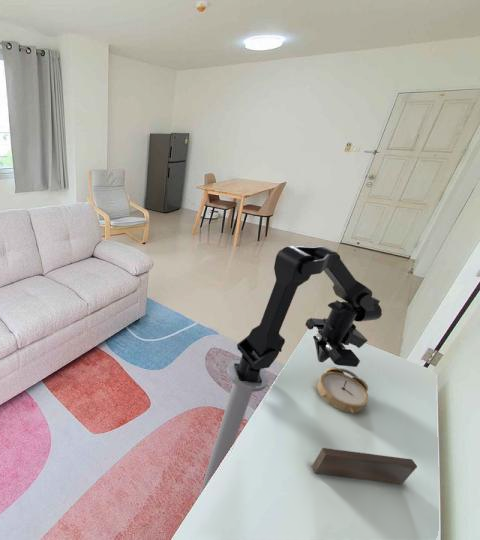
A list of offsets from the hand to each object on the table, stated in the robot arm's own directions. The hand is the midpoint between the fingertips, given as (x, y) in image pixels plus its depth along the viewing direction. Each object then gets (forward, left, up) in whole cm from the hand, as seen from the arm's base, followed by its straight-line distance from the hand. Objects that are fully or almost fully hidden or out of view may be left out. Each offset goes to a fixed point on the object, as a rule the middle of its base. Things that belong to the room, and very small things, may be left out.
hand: (320, 361), depth 92 cm
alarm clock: (+9, +2, -3) cm, 10 cm away
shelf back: (+33, -7, -3) cm, 34 cm away
